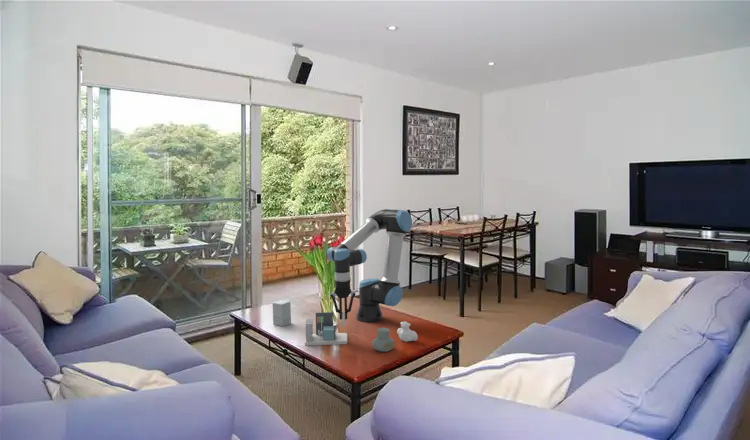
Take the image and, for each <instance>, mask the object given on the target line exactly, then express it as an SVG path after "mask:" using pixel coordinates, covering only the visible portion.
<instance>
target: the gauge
mask: <svg viewBox="0 0 750 440" xmlns="http://www.w3.org/2000/svg"><path fill="white" fill-rule="evenodd" d="M335 333H336V325H333V326H324V327H323V331H322V316H321V331H320V330H318V336H320V335H323V340H335Z"/></svg>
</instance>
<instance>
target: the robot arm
mask: <svg viewBox="0 0 750 440" xmlns="http://www.w3.org/2000/svg"><path fill="white" fill-rule="evenodd" d="M412 225H413V218H412V216H411V214H410V212H409V211H406V210H402V209H386V208H385V209H381V210H378V211H377V212H375V213H373V214H372V215H370V216H369V217H367V218H366V220H365V222H364V223H363V224H362V225H361V226H360V227H358V228H357V229H356V230H355V231H354V232H353V233H352V234H350V235H349V236H348V237H347V238H346V239H344V240H343V241H342V242H341V243H340V244H339V245H337V246H336V247H335V246H333V247H332V246H331V247H329V248H328V249H327V252H326V257H327V259H328V260H329V261H331V262H334V279H335V281H334V284H335V285H334V291H333V292H331V293H330V294H329V295H330V298H331V299H332V303H333V305H334V309H335V312H336V313H338V314H339V320H341V327H346V320H348V313H350V312H351V310H352V306H353V304H354V303H353V301H354V298H355V297H356V292H355V291H353V290H352V289H351V280H350V279H351V267H353V266H357V265H361V264H364V263H366V261H367V258H368V257H367V256H368V254H367V252H366V251H365V250H364V249H360V248H359V246H361V245H362V244H363V243H364V242H365V241H366V240H367V239H369V238H370V236H372V235H373V234H374V233H378V232H379V231H382V230H386V231H385V232H386V234H387V244H386V248H385V249H386V250H385V258H384V263H383V264H384V266H383V270H382V272H383V273H382V277H381V278H380V279H379V278H366V279H362V280H361V281H359V284H358V285H359V287H358V289H359V290H358V292H359V293H358V295H359V297H358V298H359V306H358V309H357V312H356V320H357V321H359V322H363V323H365V322H366V323H374V322H379V321H381V320H383V312H382V310H381V306H380V304H381V305H384V306H387V307H389V306H390V307H395V306H397V305H398V304H400V302H401V301H402V298H403V295H404V291H403V288H402V287H401V286H400V283H401V282H400V281H399V280H398V279H399V274H400V273H399V271H400V265H401V255H402V250H403V249H402V248H403V240H404V237H406V235H407V232H409V231H411V229H412ZM357 248H359V249H357ZM336 297H337V298H338V299H339V301H338V304H339V307H338V304H337V301H336ZM348 297H350V298H349V299H350V300H349V305H348ZM343 301H344V302H343ZM343 303H344V304H343ZM342 305H344V311H343V307H342Z"/></svg>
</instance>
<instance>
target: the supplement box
mask: <svg viewBox="0 0 750 440" xmlns="http://www.w3.org/2000/svg"><path fill="white" fill-rule="evenodd" d="M291 309H292V307H291V301H289V300H285V299H280V300H276V301H274V302H272V324H273V325H274V326H279V327H284V326H287V325H290V324H291V323H292V313H291V312H292V310H291Z"/></svg>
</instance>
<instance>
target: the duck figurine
mask: <svg viewBox="0 0 750 440" xmlns="http://www.w3.org/2000/svg"><path fill="white" fill-rule="evenodd" d="M399 323H400V327H399V328H397V330H396V333H397V335H398V337H399V339H400V340H401V341H403V342H406V343H407V342H416V341H417V340H418V338H419V337H418V336H419V335H418V334H417V332H416V331H414V330H411V329H410V326H411V323H410V322H408V321H406V320H405V321H401V322H399Z"/></svg>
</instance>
